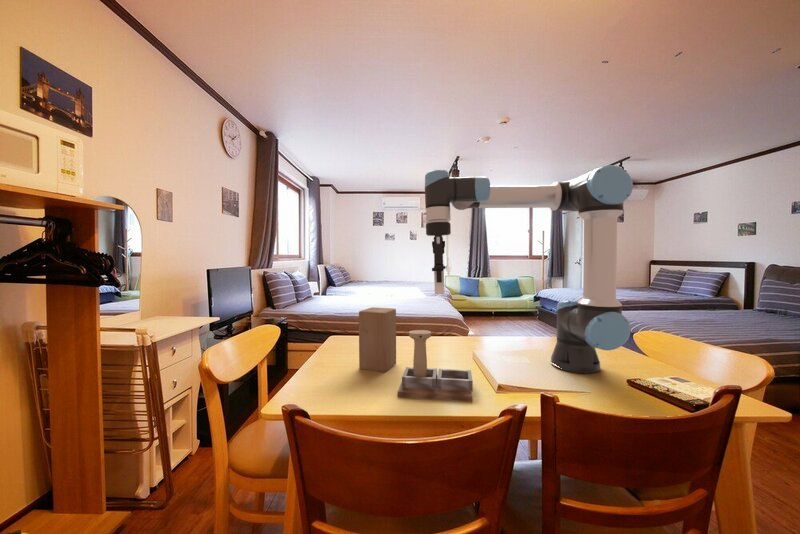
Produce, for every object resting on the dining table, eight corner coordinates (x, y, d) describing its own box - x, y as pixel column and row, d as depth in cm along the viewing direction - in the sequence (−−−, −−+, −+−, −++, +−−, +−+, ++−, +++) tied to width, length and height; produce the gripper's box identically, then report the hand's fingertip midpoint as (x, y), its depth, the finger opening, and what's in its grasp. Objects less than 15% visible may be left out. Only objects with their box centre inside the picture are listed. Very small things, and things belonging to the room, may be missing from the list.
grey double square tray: (470, 381, 100) (470, 367, 100) (473, 401, 86) (473, 384, 86) (405, 378, 103) (404, 364, 103) (397, 396, 90) (397, 380, 90)
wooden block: (358, 369, 112) (358, 311, 112) (371, 360, 122) (371, 307, 121) (385, 372, 109) (384, 312, 108) (396, 363, 118) (396, 308, 117)
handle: (432, 386, 93) (431, 333, 93) (409, 386, 93) (409, 333, 93) (430, 379, 98) (430, 330, 98) (408, 379, 98) (408, 330, 98)
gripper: (427, 226, 113) (429, 287, 114) (423, 218, 88) (425, 296, 89) (449, 225, 112) (451, 287, 113) (451, 216, 87) (453, 295, 88)
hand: (439, 291), depth 101 cm, fingers open, 13 cm apart
